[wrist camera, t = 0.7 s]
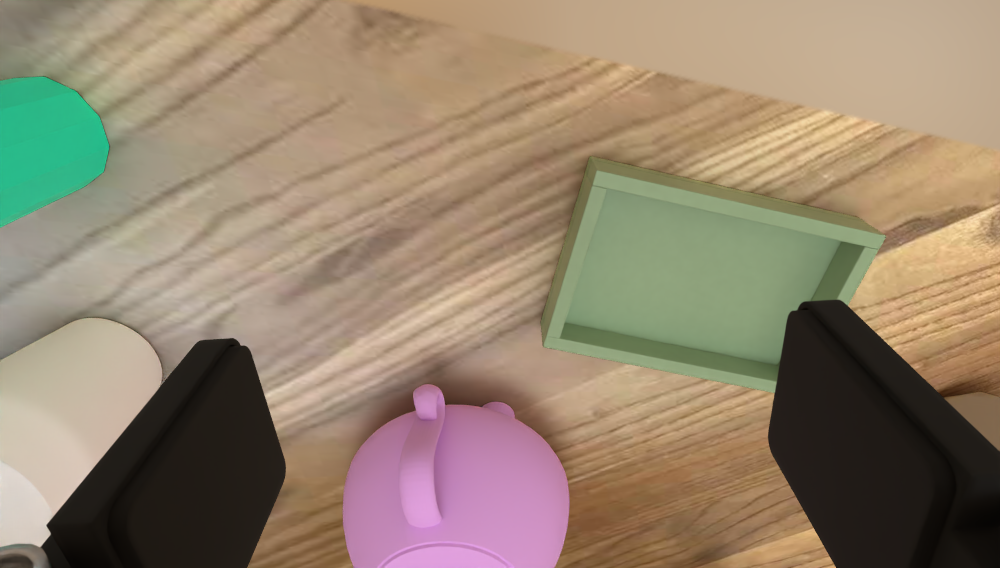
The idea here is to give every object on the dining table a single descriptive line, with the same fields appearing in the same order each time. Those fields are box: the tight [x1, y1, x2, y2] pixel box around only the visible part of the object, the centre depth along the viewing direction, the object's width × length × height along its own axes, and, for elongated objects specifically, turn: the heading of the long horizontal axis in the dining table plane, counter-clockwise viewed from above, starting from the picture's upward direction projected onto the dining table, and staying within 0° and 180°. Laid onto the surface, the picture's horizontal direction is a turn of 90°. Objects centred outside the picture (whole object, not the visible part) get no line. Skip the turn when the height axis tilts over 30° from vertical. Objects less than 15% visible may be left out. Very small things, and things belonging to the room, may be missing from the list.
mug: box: [944, 392, 1000, 451], centre depth 38 cm, size 8×10×10 cm
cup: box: [0, 318, 162, 547], centre depth 33 cm, size 9×9×12 cm
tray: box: [541, 156, 886, 393], centre depth 34 cm, size 11×16×3 cm
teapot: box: [343, 384, 570, 568], centre depth 37 cm, size 20×14×12 cm
